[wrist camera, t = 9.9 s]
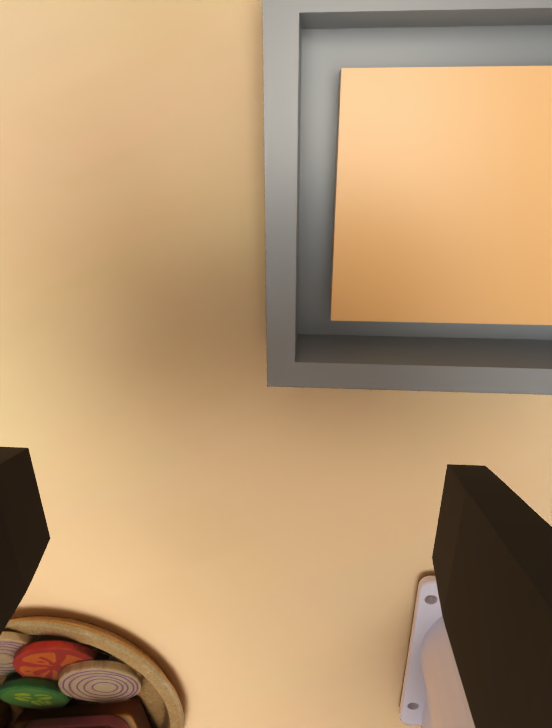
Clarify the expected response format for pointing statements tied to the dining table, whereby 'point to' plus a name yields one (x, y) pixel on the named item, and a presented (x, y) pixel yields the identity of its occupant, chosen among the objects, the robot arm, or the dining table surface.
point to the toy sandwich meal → (80, 679)
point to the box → (408, 194)
